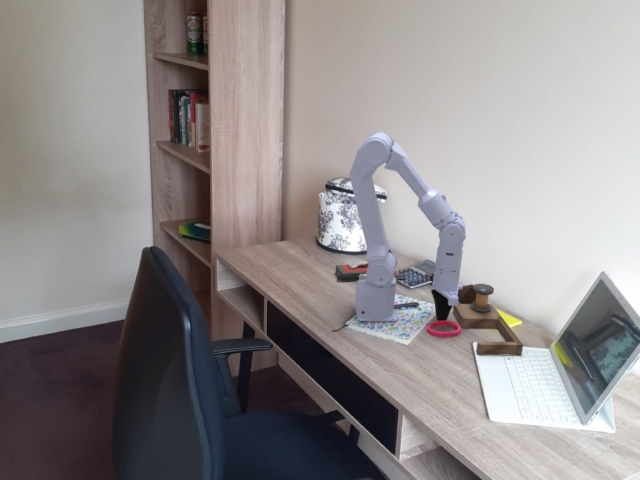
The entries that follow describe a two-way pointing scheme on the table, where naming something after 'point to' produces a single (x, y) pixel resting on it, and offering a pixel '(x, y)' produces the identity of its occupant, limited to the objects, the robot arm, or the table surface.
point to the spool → (482, 298)
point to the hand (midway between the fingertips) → (441, 320)
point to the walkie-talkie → (355, 271)
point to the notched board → (488, 320)
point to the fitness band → (440, 324)
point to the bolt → (464, 293)
